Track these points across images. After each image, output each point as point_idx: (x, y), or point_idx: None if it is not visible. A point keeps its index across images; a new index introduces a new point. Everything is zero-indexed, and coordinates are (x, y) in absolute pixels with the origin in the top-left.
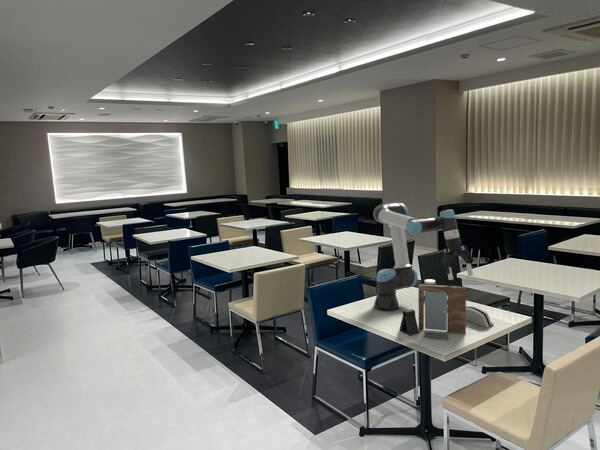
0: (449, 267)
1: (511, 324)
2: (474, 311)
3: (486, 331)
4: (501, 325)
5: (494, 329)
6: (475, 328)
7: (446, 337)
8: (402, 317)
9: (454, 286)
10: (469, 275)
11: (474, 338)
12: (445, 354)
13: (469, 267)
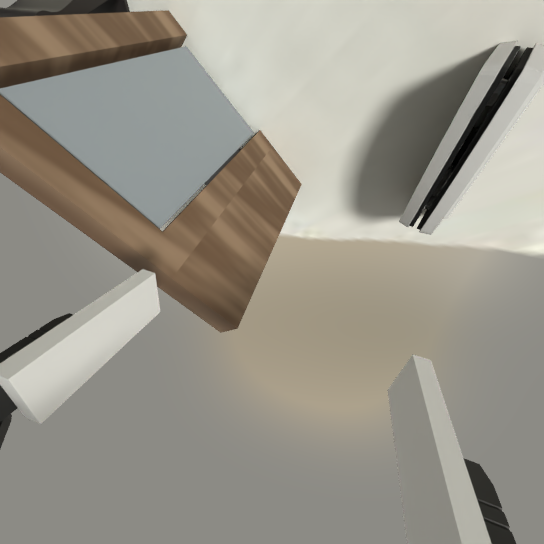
0: (25, 411)
1: (510, 247)
2: (417, 186)
3: (364, 222)
4: (472, 229)
5: (404, 230)
6: (367, 183)
7: (215, 174)
8: (13, 4)
9: (177, 288)
10: (406, 370)
11: (283, 225)
12: (163, 227)
13: (412, 499)
